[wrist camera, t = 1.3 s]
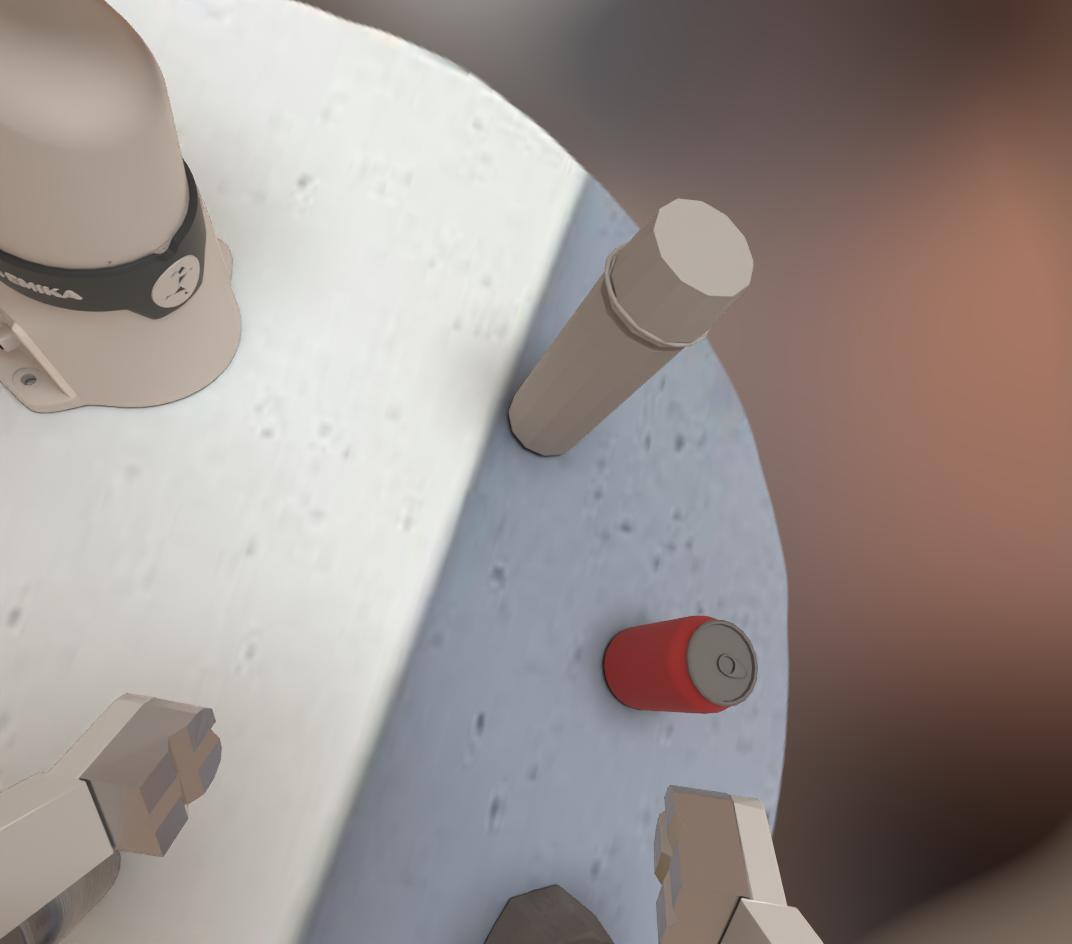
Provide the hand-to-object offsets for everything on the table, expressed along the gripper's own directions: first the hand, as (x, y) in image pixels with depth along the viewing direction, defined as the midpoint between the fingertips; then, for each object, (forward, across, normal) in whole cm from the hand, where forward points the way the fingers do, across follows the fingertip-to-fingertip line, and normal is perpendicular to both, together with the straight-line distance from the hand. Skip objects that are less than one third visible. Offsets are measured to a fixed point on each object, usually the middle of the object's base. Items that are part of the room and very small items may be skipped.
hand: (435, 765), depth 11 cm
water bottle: (+45, +1, +12) cm, 47 cm away
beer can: (+32, -9, +28) cm, 43 cm away
